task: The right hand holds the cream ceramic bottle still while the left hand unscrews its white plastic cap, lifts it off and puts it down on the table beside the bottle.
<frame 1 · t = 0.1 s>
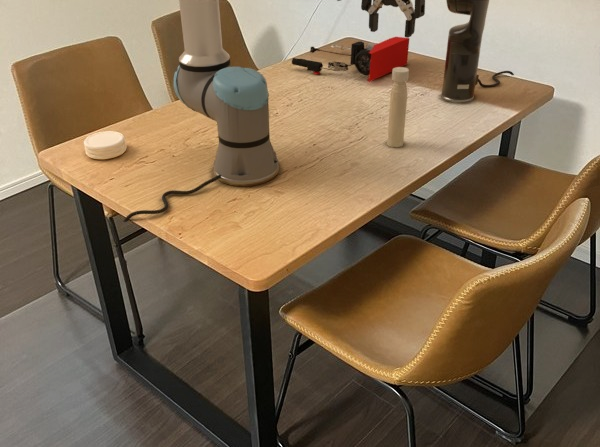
left hand: (358, 4, 166), 28 cm above the table, tool pointing down, fingers open, 13 cm apart
right hand: (390, 33, 137), 29 cm above the table, tool pointing down, fingers open, 8 cm apart
bottle: (395, 143, 157), on the table
white round disc: (106, 152, 156), on the table
electric hoist: (349, 66, 209), on the table
cap: (400, 70, 147), point 19 cm above the table, screwed on, not yet turned
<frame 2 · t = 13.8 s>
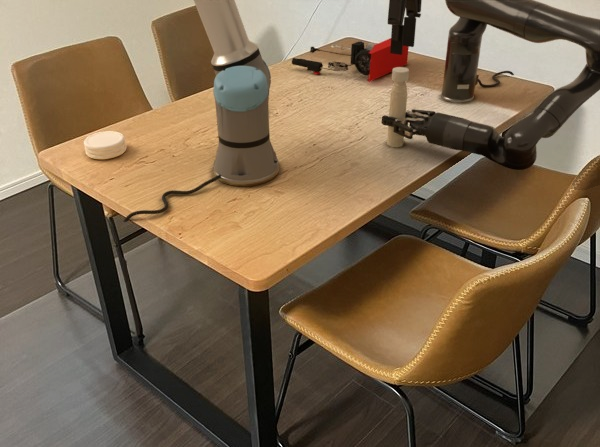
left hand: (402, 49, 144), 24 cm above the table, tool pointing down, fingers open, 6 cm apart
right hand: (387, 116, 155), 7 cm above the table, tool horizontal, fingers closed on bottle, 4 cm apart
bottle: (395, 143, 157), on the table, touching right hand
everything else where it was.
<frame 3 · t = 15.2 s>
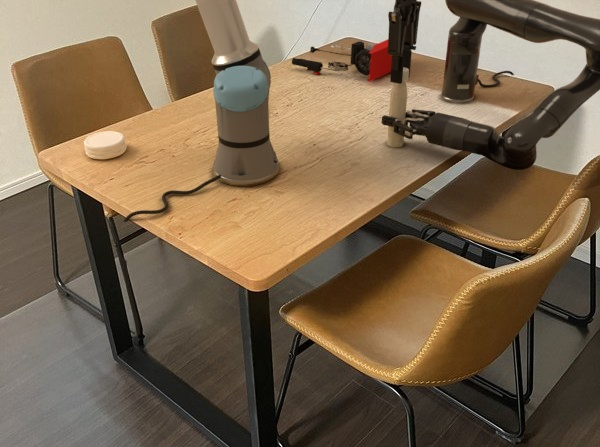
left hand: (400, 79, 148), 17 cm above the table, tool pointing down, fingers closed on cap, 4 cm apart
right hand: (387, 116, 155), 7 cm above the table, tool horizontal, fingers closed on bottle, 4 cm apart
bottle: (395, 143, 157), on the table, touching right hand
cap: (400, 70, 147), point 19 cm above the table, screwed on, not yet turned, touching left hand
everything else where it was.
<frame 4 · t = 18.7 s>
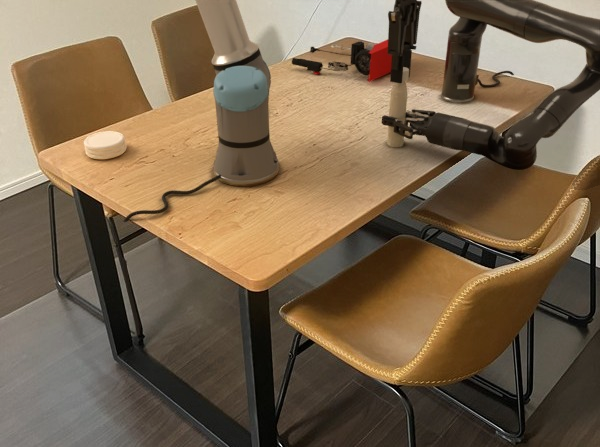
left hand: (400, 79, 148), 17 cm above the table, tool pointing down, fingers closed on cap, 4 cm apart
right hand: (387, 116, 155), 7 cm above the table, tool horizontal, fingers closed on bottle, 4 cm apart
bottle: (395, 143, 157), on the table, touching right hand
cap: (400, 70, 147), point 19 cm above the table, turned 94° so far, risen 0.1 cm, still on its thread, touching left hand
everything else where it was.
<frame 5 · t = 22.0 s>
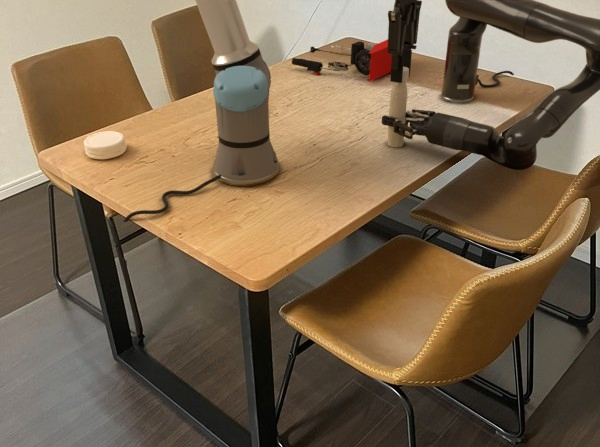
left hand: (400, 78, 148), 17 cm above the table, tool pointing down, fingers closed on cap, 4 cm apart
right hand: (387, 116, 155), 7 cm above the table, tool horizontal, fingers closed on bottle, 4 cm apart
bottle: (395, 143, 157), on the table, touching right hand
cap: (400, 70, 147), point 19 cm above the table, turned 188° so far, risen 0.2 cm, still on its thread, touching left hand
everything else where it was.
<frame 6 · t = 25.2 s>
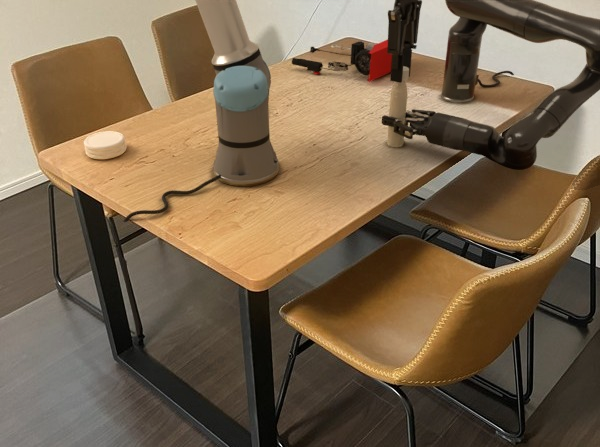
left hand: (400, 78, 148), 17 cm above the table, tool pointing down, fingers closed on cap, 4 cm apart
right hand: (387, 116, 155), 7 cm above the table, tool horizontal, fingers closed on bottle, 4 cm apart
bottle: (395, 143, 157), on the table, touching right hand
cap: (400, 69, 147), point 19 cm above the table, turned 281° so far, risen 0.3 cm, still on its thread, touching left hand
everything else where it was.
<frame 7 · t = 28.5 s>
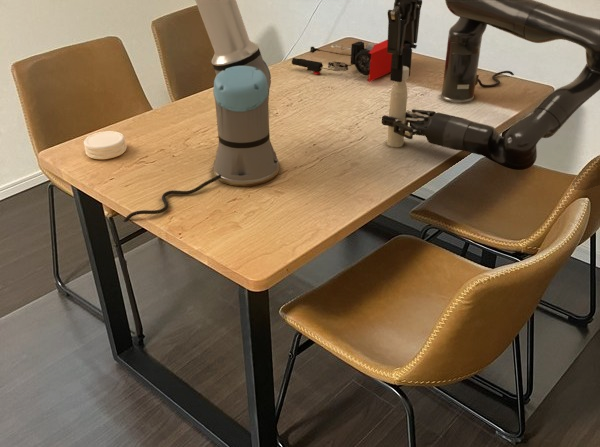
left hand: (400, 77, 148), 17 cm above the table, tool pointing down, fingers closed on cap, 4 cm apart
right hand: (387, 116, 155), 7 cm above the table, tool horizontal, fingers closed on bottle, 4 cm apart
bottle: (395, 143, 157), on the table, touching right hand
cap: (400, 69, 147), point 19 cm above the table, turned 375° so far, risen 0.4 cm, still on its thread, touching left hand
everything else where it was.
when the left hand's fingers open (1 cm above the table, at t = 34.6 s): cap drops 1 cm, point 2 cm above the table.
when the right hand's fingers open (7 cm above the table, at t = 35.8 s): bottle stays where it is, on the table.
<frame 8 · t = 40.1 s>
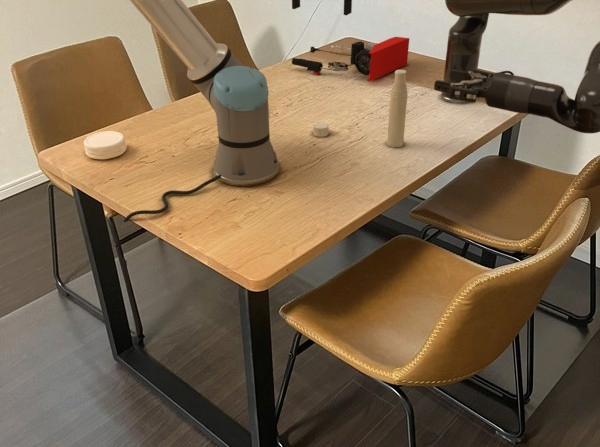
left hand: (321, 11, 146), 32 cm above the table, tool pointing down, fingers open, 13 cm apart
right hand: (443, 79, 142), 19 cm above the table, tool horizontal, fingers open, 8 cm apart
bottle: (395, 143, 157), on the table
cap: (321, 126, 162), point 2 cm above the table, off its thread
everything else where it was.
at the end: cap came off its thread; cap point 2.0 cm above the table; the left hand is holding nothing; the right hand is holding nothing; bottle tilted 0°; bottle moved 0.0 cm from its start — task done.
